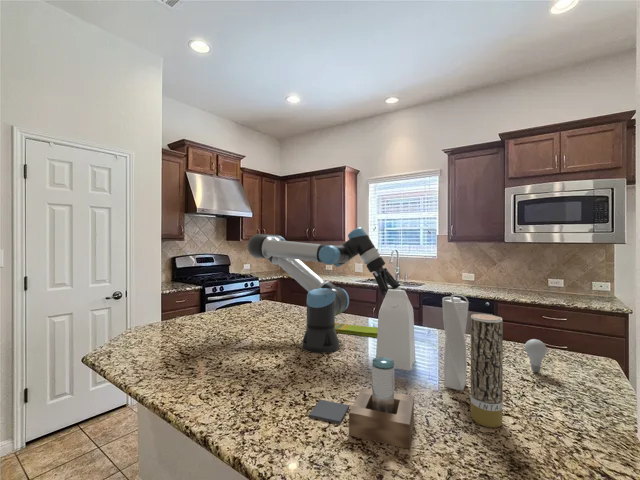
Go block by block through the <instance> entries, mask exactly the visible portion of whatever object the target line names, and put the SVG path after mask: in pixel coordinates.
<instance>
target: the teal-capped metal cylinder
mask: <svg viewBox="0 0 640 480" xmlns="http://www.w3.org/2000/svg"><path fill="white" fill-rule="evenodd" d="M371 376H372V380H371V381H372V384H371V385H372V387H371V389H372V410H376V411H381V412H386V413H391V414H394V393H395V368H394V361H393V360H392V359H389V358H384V357H378V358H376V357H375V358H374V357H373V359H372V375H371Z"/></svg>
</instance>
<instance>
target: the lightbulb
mask: <svg viewBox="0 0 640 480" xmlns="http://www.w3.org/2000/svg"><path fill="white" fill-rule="evenodd" d="M524 349H525V352H526V354H527V355H528V358H529V359H528V360H529V363H530V370H531V371H532V372H534V373H539V372H541V366H542V363H543V359H544V358H545V357H546V355H547V352H548V350H547V349H548V348H547V346H546V344H545V343H544V342H543V341H541V340H540V339H536V338H532V339H529V340H527V341H526V342H525V345H524Z"/></svg>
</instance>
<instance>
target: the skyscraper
mask: <svg viewBox="0 0 640 480" xmlns="http://www.w3.org/2000/svg"><path fill="white" fill-rule="evenodd" d="M461 298H463V299H465V300H462V299H461ZM441 299H442V302H441V303H442V304H441V305H442V321H443V329H444V335H445V336H444V337H445V340H444V354H443V358H444V359H443V383H444V387H445V388H449V389H454V390H458V391H461V392H464V390H465V389H464V388H465V386H466V385H467V368H468V363H467V360H468V359H467V345H466V344H467V343H466V338H465V337H466V336H465V334H466V328H467V323H468V314H469V303H470V302H469V299H468V298H467V297H466V296H465V295H463V294H459V293H456V294H455V293H454V294H451V295H450V296H444V297H442V298H441Z"/></svg>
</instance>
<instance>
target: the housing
mask: <svg viewBox="0 0 640 480" xmlns="http://www.w3.org/2000/svg"><path fill="white" fill-rule="evenodd" d="M354 400H355V401H354V402H353V404H352V406H351V408H350V410H349V411H348V436H351V437H356V438H359V439H364V440H369V441H372V442H376V443H377V442H378V443H382V444H387V445H392V446H395V447H399V448H402V449H403V448H404V449H408V450H410V447H411V441H412V435H413V434H412V433H413V424H414V418H415V417H414V416H415V407H414V406H415V396H413V395H407V394H401V393H396V392H394V414H391V413H386V412H381V411H376V410H372V388H368V387H367V388H366V387H361V388H360V391H359V393H358V395H357V396H356V399H354Z"/></svg>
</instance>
